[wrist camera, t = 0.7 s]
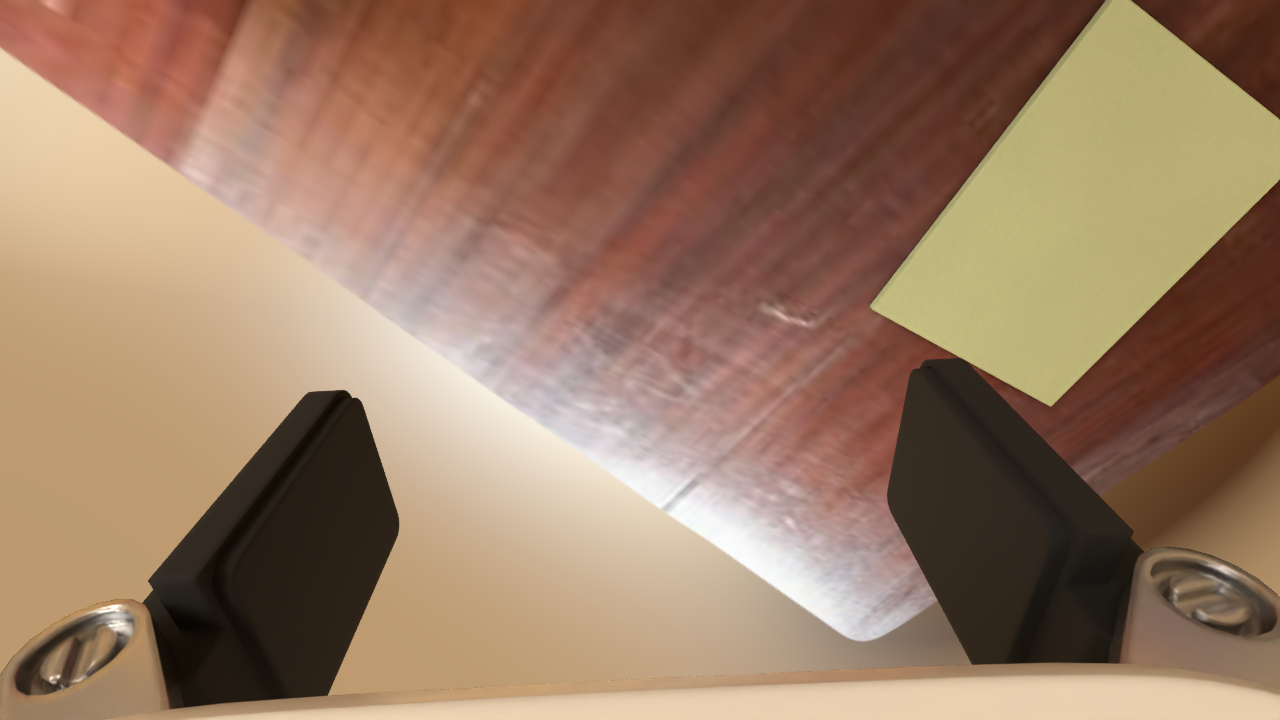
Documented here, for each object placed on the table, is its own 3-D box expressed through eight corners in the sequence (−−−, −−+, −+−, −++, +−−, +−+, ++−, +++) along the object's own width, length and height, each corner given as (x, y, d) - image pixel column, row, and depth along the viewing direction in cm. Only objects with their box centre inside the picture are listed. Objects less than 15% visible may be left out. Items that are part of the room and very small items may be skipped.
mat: (1111, -9, 32) (1120, -10, 31) (1303, 144, 36) (1313, 146, 35) (868, 306, 40) (872, 310, 40) (1046, 402, 44) (1051, 407, 43)
